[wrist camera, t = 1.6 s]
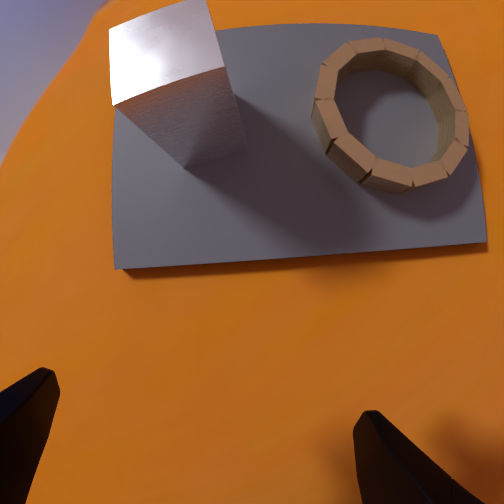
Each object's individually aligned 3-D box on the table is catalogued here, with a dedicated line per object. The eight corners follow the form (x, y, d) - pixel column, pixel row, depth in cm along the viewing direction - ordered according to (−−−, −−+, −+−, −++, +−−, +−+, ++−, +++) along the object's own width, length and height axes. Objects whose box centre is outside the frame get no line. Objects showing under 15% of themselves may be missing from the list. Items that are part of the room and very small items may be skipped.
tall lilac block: (249, 149, 18) (224, 66, 9) (183, 168, 18) (112, 105, 9) (233, 93, 18) (204, -5, 9) (172, 111, 18) (109, 29, 10)
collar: (470, 128, 17) (488, 115, 14) (399, 225, 17) (416, 221, 15) (368, 38, 17) (376, 17, 15) (280, 118, 18) (280, 100, 15)
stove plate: (433, 41, 18) (437, 35, 17) (479, 242, 18) (487, 241, 17) (127, 58, 20) (122, 51, 19) (121, 268, 20) (114, 269, 19)
